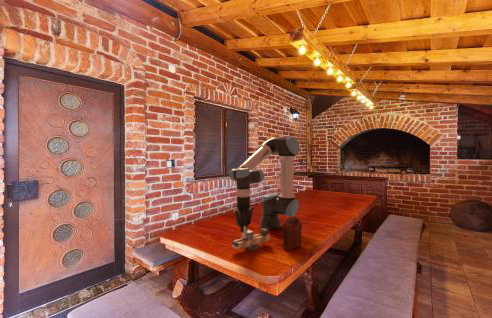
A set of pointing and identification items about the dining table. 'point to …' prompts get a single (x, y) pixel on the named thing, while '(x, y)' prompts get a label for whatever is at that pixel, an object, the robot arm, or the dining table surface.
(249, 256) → the dining table surface
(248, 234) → the block
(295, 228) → the wooden figurine
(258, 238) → the beam
